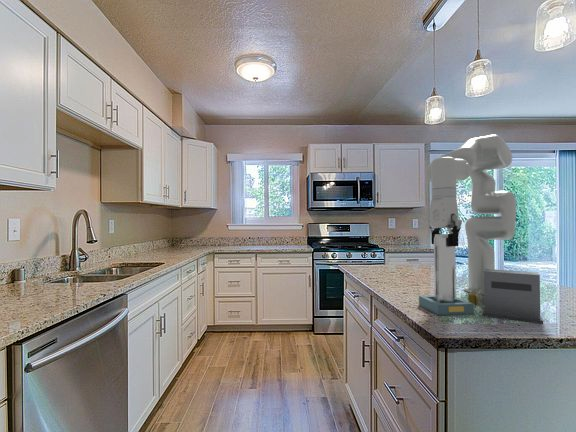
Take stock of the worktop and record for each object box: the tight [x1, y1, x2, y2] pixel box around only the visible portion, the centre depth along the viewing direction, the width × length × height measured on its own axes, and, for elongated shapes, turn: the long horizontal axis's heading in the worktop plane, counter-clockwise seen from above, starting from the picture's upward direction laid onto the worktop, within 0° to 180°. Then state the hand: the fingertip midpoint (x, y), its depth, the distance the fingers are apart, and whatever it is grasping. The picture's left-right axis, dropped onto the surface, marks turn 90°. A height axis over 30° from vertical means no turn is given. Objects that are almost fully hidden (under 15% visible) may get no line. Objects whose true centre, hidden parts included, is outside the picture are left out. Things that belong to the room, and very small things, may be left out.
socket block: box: [418, 294, 475, 317], centre depth 106 cm, size 12×12×4 cm
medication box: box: [467, 289, 483, 306], centre depth 117 cm, size 12×3×4 cm, turn 141°
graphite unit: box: [481, 269, 544, 325], centre depth 99 cm, size 8×15×14 cm, turn 58°
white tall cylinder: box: [433, 233, 457, 303], centre depth 107 cm, size 6×6×25 cm
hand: (444, 245), depth 107 cm, fingers open, 9 cm apart
